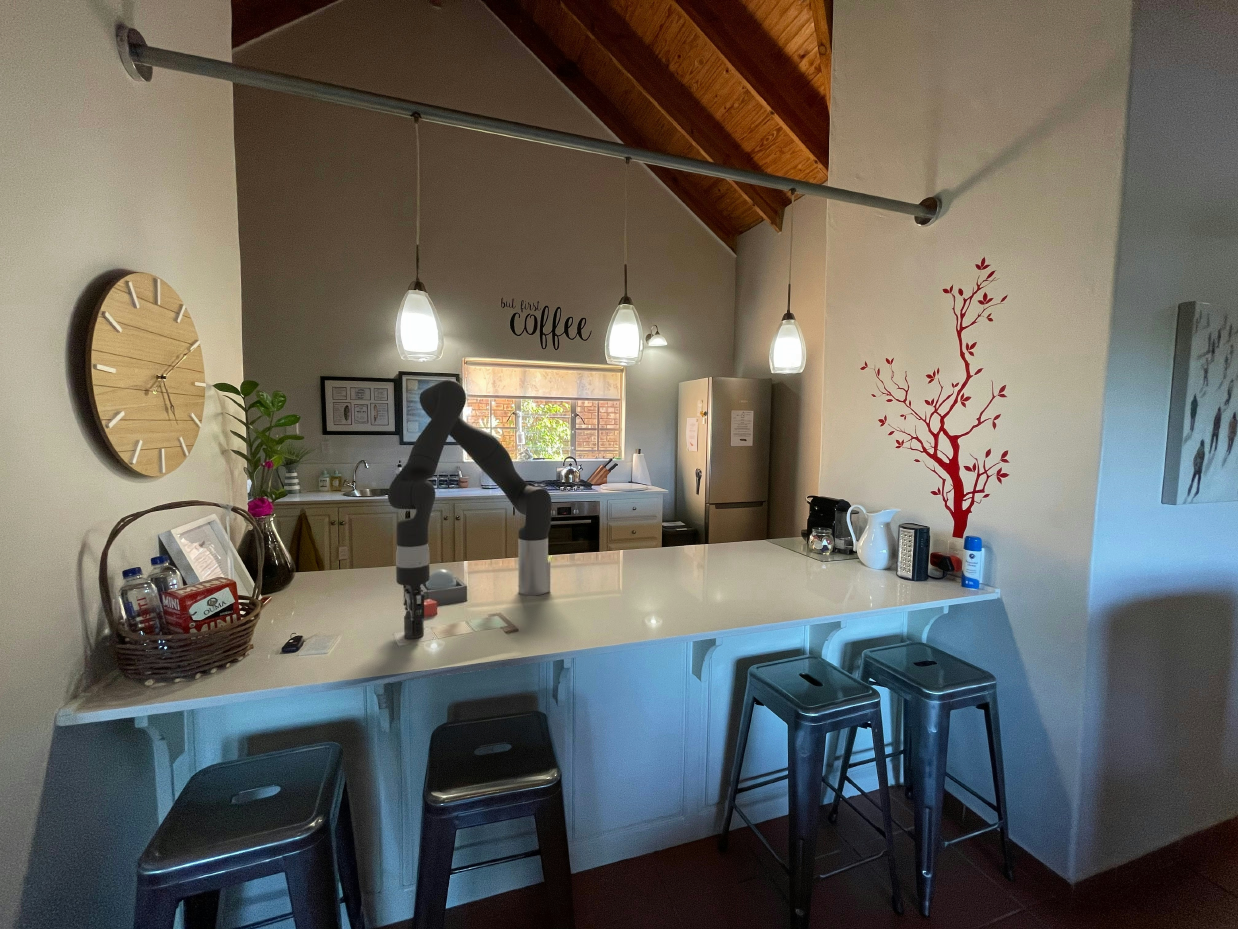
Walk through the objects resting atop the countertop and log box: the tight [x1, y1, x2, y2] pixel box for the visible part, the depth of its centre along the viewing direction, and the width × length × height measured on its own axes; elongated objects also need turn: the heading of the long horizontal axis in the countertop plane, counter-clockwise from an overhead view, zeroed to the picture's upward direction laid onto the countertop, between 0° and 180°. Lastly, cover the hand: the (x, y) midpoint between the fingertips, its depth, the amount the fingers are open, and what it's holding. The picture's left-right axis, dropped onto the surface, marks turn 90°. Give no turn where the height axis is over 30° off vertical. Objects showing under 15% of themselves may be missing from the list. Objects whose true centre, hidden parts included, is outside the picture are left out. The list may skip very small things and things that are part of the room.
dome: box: [426, 568, 456, 591], centre depth 164 cm, size 9×9×8 cm
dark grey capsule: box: [403, 610, 425, 640], centre depth 132 cm, size 4×4×7 cm
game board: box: [392, 611, 520, 646], centre depth 137 cm, size 30×14×1 cm, turn 121°
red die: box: [424, 599, 438, 618], centre depth 148 cm, size 4×4×4 cm
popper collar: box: [420, 576, 468, 607], centre depth 164 cm, size 12×12×4 cm
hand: (413, 630), depth 132 cm, fingers open, 6 cm apart
